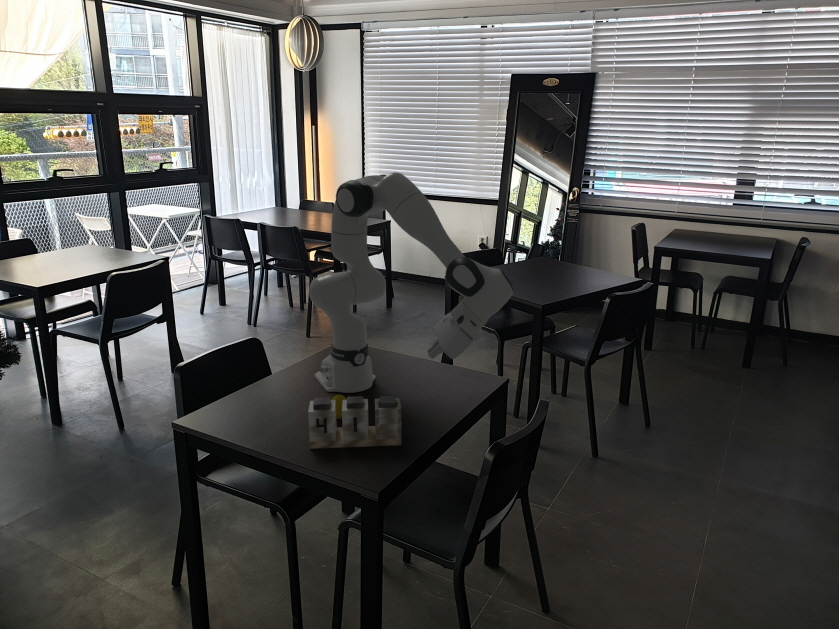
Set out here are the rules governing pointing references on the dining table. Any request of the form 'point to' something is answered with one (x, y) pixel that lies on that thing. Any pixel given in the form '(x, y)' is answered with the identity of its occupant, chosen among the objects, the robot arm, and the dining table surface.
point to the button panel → (353, 424)
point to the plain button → (387, 401)
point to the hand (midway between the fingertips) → (429, 355)
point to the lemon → (339, 405)
